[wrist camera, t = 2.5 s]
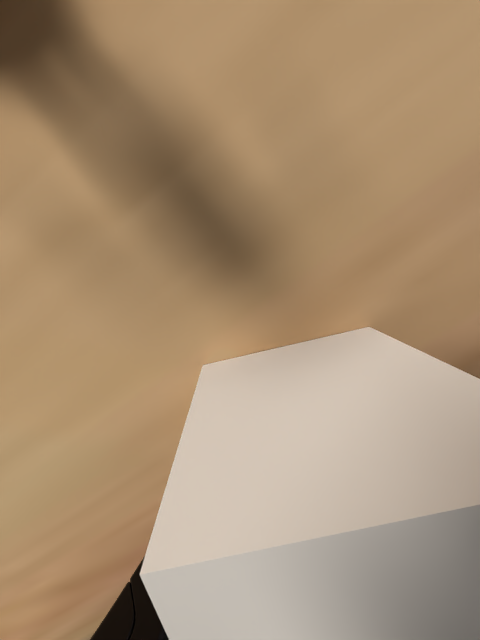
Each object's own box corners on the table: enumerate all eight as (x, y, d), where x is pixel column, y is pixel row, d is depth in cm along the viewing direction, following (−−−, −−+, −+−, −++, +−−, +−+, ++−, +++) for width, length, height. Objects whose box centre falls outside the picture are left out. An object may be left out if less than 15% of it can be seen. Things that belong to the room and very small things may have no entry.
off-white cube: (369, 326, 9) (663, 465, 3) (385, 465, 10) (603, 759, 4) (202, 365, 9) (139, 574, 3) (241, 496, 10) (251, 820, 4)
